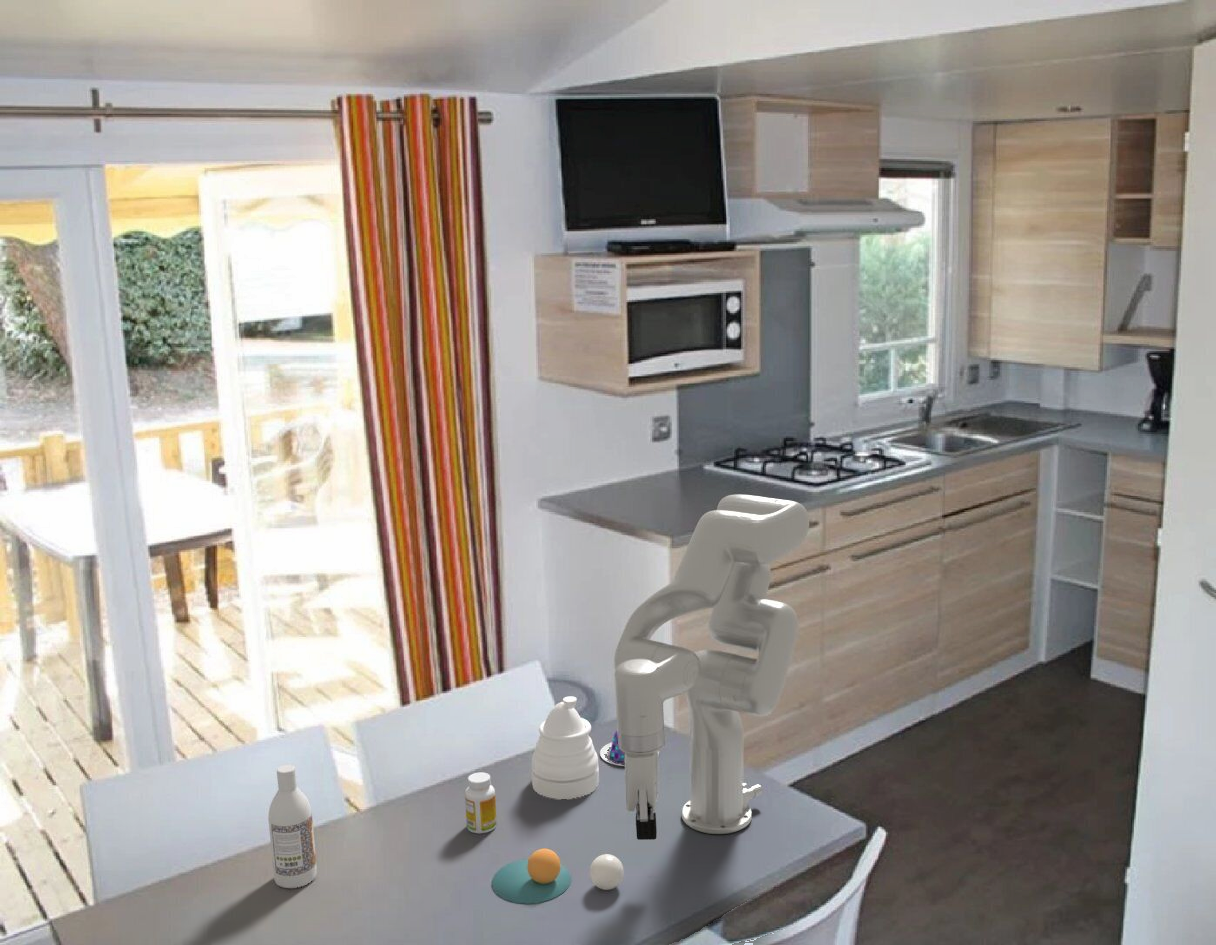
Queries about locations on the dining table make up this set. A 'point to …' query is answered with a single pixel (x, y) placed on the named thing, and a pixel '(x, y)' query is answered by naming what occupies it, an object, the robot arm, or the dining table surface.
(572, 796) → the honey pot
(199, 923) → the dining table surface
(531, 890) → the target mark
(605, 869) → the white ball
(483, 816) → the supplement bottle
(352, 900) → the dining table surface
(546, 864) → the orange ball
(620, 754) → the pudding
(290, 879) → the bath foam
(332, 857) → the dining table surface
